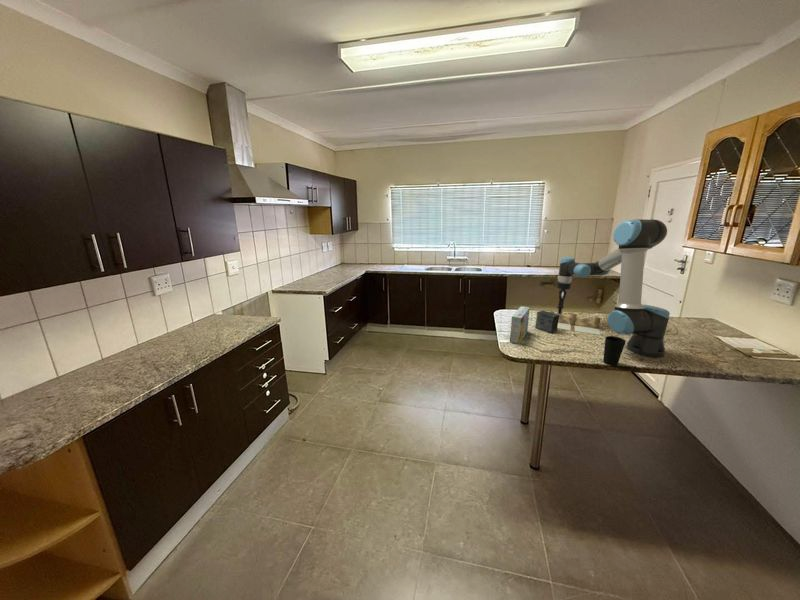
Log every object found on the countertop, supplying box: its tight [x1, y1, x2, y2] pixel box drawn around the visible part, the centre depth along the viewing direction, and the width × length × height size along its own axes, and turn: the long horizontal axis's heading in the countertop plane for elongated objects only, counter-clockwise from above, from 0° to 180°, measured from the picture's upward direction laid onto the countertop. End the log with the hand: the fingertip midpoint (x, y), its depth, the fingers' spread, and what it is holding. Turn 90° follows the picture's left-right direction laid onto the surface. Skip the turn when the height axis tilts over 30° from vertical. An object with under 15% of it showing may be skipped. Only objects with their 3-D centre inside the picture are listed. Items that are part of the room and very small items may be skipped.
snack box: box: [509, 306, 531, 345], centre depth 170 cm, size 21×6×15 cm, turn 147°
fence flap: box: [548, 310, 571, 324], centre depth 193 cm, size 12×3×6 cm, turn 62°
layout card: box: [557, 321, 601, 336], centre depth 188 cm, size 28×16×1 cm, turn 62°
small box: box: [534, 310, 559, 334], centre depth 181 cm, size 11×6×10 cm, turn 34°
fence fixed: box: [569, 313, 602, 330], centre depth 187 cm, size 15×3×7 cm, turn 62°
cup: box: [602, 335, 626, 367], centre depth 141 cm, size 8×8×12 cm
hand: (558, 317), depth 198 cm, fingers closed
